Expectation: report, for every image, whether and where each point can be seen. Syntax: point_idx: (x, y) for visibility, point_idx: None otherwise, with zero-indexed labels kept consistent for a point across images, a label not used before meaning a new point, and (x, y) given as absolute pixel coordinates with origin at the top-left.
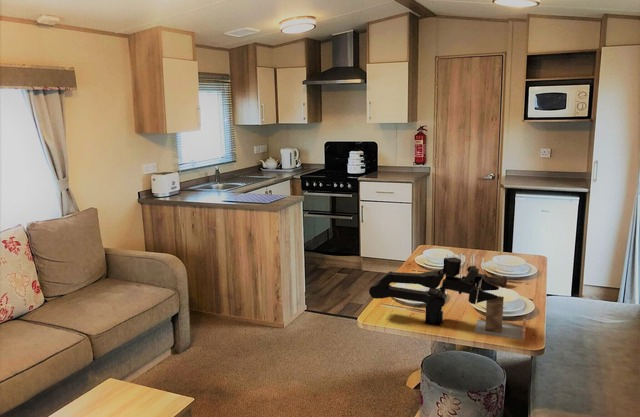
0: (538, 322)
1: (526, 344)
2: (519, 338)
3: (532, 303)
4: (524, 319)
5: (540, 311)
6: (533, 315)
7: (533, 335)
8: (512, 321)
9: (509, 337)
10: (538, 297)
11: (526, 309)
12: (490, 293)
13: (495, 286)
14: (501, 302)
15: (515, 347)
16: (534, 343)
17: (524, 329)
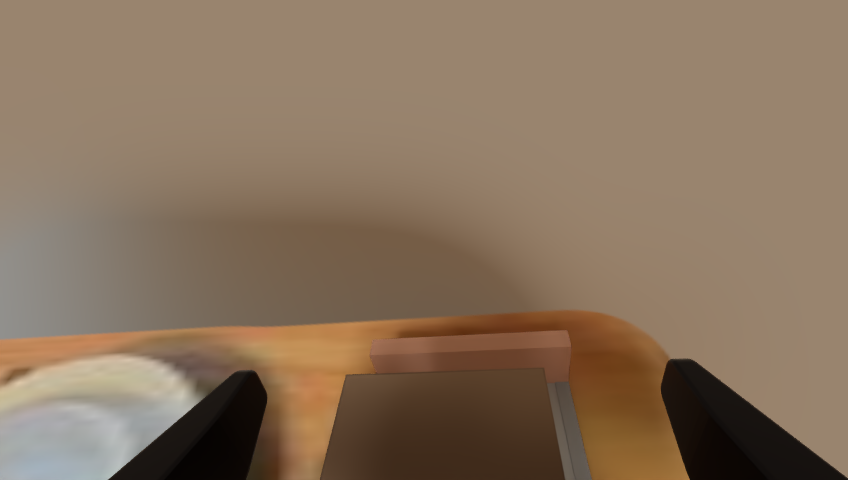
0: (305, 329)
1: (605, 360)
2: (565, 393)
3: (68, 366)
4: (383, 348)
5: (177, 329)
6: (219, 353)
7: None
8: (297, 455)
9: (585, 455)
10: (10, 346)
11: (134, 388)
12: (779, 474)
13: (224, 416)
14: (546, 383)
15: None
16: (566, 328)
17: (542, 337)
